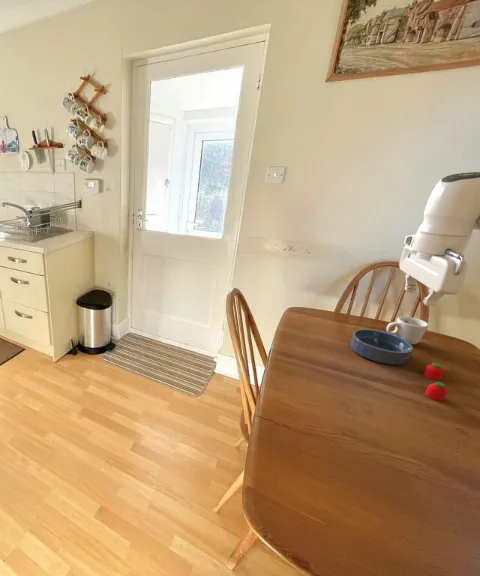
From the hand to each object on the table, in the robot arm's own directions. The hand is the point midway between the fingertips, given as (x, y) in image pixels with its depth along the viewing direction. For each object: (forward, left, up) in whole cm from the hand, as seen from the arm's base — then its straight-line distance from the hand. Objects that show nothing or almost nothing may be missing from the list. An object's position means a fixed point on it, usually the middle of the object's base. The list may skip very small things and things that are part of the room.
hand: (418, 297), depth 80 cm
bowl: (-5, -21, -28) cm, 36 cm away
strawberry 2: (-11, 0, -28) cm, 30 cm away
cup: (-16, -34, -28) cm, 48 cm away
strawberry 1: (-15, -11, -28) cm, 34 cm away
